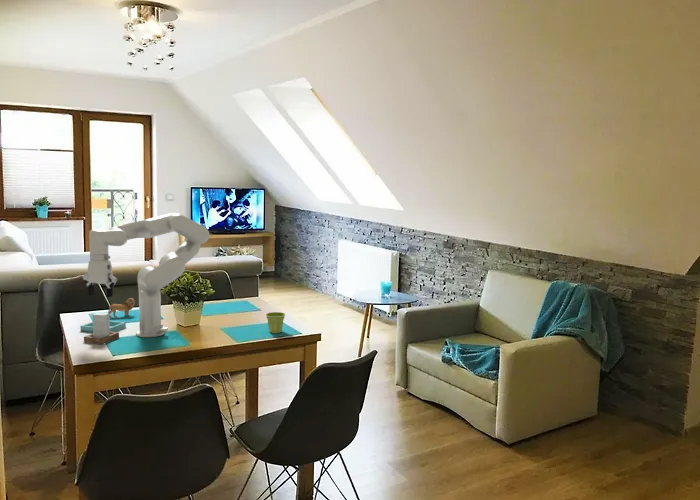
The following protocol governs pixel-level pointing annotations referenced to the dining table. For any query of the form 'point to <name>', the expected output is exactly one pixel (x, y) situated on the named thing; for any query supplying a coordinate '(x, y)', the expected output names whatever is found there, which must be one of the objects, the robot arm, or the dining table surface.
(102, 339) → the holder collar
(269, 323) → the plant pot
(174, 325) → the dining table surface
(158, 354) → the dining table surface
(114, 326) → the tray
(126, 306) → the lion figurine
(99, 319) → the skincare box
